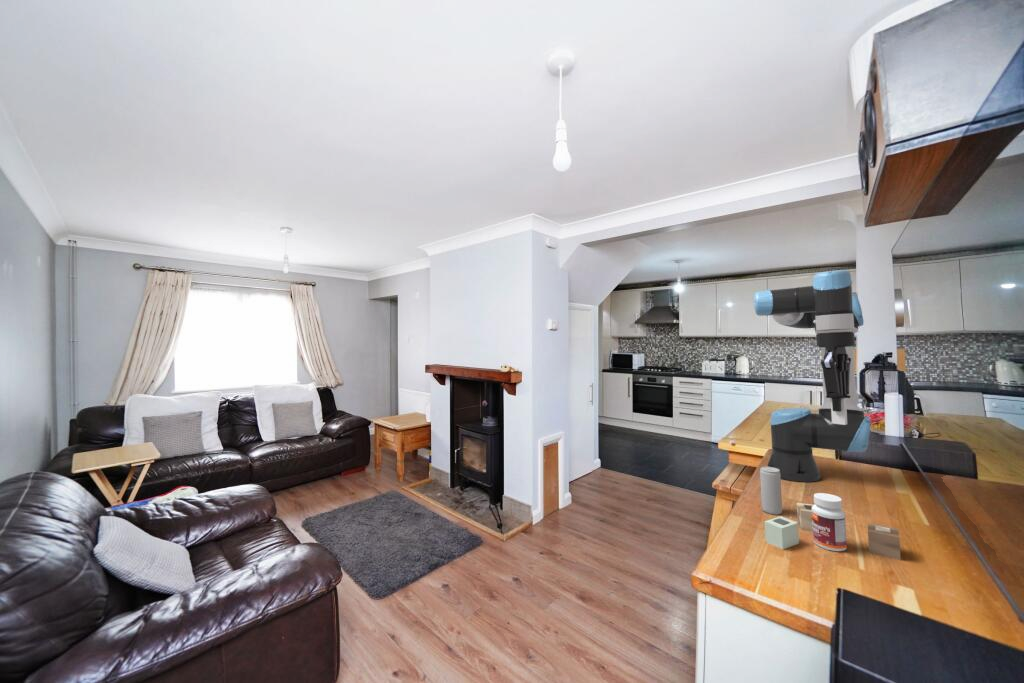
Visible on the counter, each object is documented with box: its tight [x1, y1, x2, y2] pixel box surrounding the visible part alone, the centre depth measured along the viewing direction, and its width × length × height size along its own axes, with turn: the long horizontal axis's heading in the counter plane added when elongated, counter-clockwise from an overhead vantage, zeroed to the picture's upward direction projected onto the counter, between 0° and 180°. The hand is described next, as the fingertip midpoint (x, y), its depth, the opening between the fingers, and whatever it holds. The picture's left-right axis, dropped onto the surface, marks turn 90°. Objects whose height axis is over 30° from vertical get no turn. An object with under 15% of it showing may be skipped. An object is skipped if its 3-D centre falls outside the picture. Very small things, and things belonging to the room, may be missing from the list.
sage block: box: [764, 515, 800, 550], centre depth 92 cm, size 6×4×5 cm, turn 113°
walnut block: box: [867, 522, 902, 561], centre depth 86 cm, size 5×5×5 cm
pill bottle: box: [811, 492, 848, 552], centre depth 90 cm, size 6×6×11 cm
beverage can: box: [759, 466, 783, 516], centre depth 108 cm, size 5×5×12 cm
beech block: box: [796, 502, 814, 532], centre depth 99 cm, size 5×5×5 cm
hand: (839, 423), depth 98 cm, fingers closed
